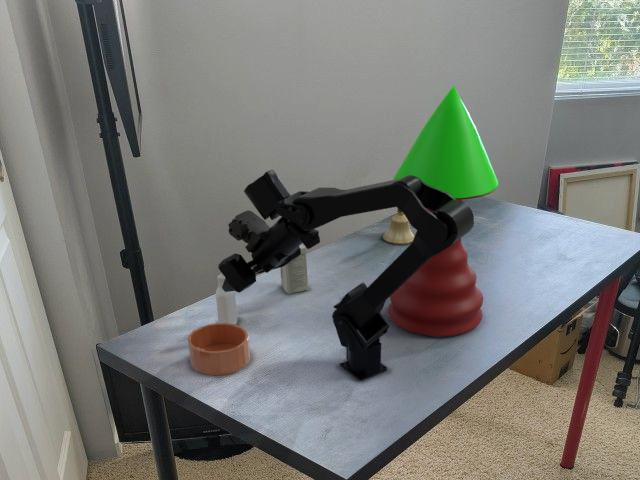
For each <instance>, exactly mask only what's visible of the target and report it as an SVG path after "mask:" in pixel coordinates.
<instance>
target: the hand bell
mask: <svg viewBox="0 0 640 480" xmlns="http://www.w3.org/2000/svg"><path fill="white" fill-rule="evenodd" d="M414 236H415V234H414V233H413V232H412V230H411V227H410V223H409V221H408V219H407V218H406V216H405V215H404V213H403V212H402V211H401V210H400V209H398V208H397V213H396V214H394V215H393V216H392V217H391V220H390V224H389V228H388V229H387V231H385V233H383V235H382V239H383V240H384V241H385V242H386V243H390V244H394V245H408V244H411V243H412V241H413V239H414Z"/></svg>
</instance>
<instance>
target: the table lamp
mask: <svg viewBox="0 0 640 480" xmlns="http://www.w3.org/2000/svg"><path fill="white" fill-rule="evenodd" d="M407 175H412V176H416V177H418V178H419V179H421V180H422V181H423V182H425V183H426V184H428V185H430V186H433V187H435V188H437V189H440V190H442V191H445V192H447V193H448V194H449V195H451V196H452V197H453V198H455V199H456V200H460V201H463V200H470V199H477V198H481V197H484V196H486V195H490V194H492V193H493V192H495V191H496V189H498V187H499V179H498V178H497V176H496V172H495V170H494V168H493V165H492V163H491V160H490V159H489V155H488V153H487V151H486V148H485V146H484V144H483V140H482V139H481V136H480V134H479V132H478V129H477V127H476V125H475V123H474V121H473V119H472V117H471V115H470V113H469V111H468V109H467V108H466V105H465V104H464V102H463V100H462V98H461V97H460V95H459V92H458V90H457V89H456V87H455V85H452V87H451V88H450V90H449V91H448V92H447V93H446V95H445V96H444V98H442V100H441V102H440V103H439V105H438V106H437V107H436V109H435V110H434V111H433V112H432V114H431V115H430V117H429V118H428V120H427V121H426V123H425V124H424V126H423V127H422V129H421V131H420V133H419V134H418V135H417V138H416V140H415V141H414V142H413V144H412V146H411V148H410V149H409V150H408V153H407V154H406V156H405V158H404V159H403V161H402V163H401V165H400V166H399V168H398V169H397V171H396V173H395V175H394V176H393V180H396V179H401V178H403V177H405V176H407ZM426 209H427V210H429V211H430V212H431V213H432V212H433V210H430V209H428V208H426ZM468 259H469V256H468V251H467V249H466V247H465V245H464V244H463V243H462V238H460V239H459V240H458V241H456V242H455V243H454V244H452V245H451V246H450V247H448V248H447V249H445V250H443V251H442V252H440V253H438V254H437V255H435V256H433V257H431V258H430V259H429V260H428V261H427V262H426V263H425V264H424V265H423V266H422V267H421V268H419V269H418V270H417V271H416V272H415V273H414V274H413V275H412V276H411V277H410V278H409V279H408V280H407V281H406V282H405V283H404V284H403V285H402V286H401V287H400V288H398V289H397V290H396V291H395V292H394V293H393V294H392V295H391V296H390V297H389V301H390V303H389V306H388V307H387V315H388V317H389V319H390V320H391V321H392V323H394V324H395V325H396V326H397V327H399V328H400V329H402V330H404V331H406V332H409V333H411V334H415V335H421V336H426V337H427V336H428V337H436V338H437V337H439V338H440V337H441V338H444V337H445V338H446V337H453V336H458V335H462V334H466V333H468V332H470V331H472V330H474V329H475V328H476V327H478V326H479V325H480V324H481V322H482V320H483V312H482V306H483V304H484V295H483V293H482V291H481V290H480V288H479V287H478V285H476V284H477V274H476V272H475V270H474V269H473V268H472V267H471V266H470V264H469V263H468Z"/></svg>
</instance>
